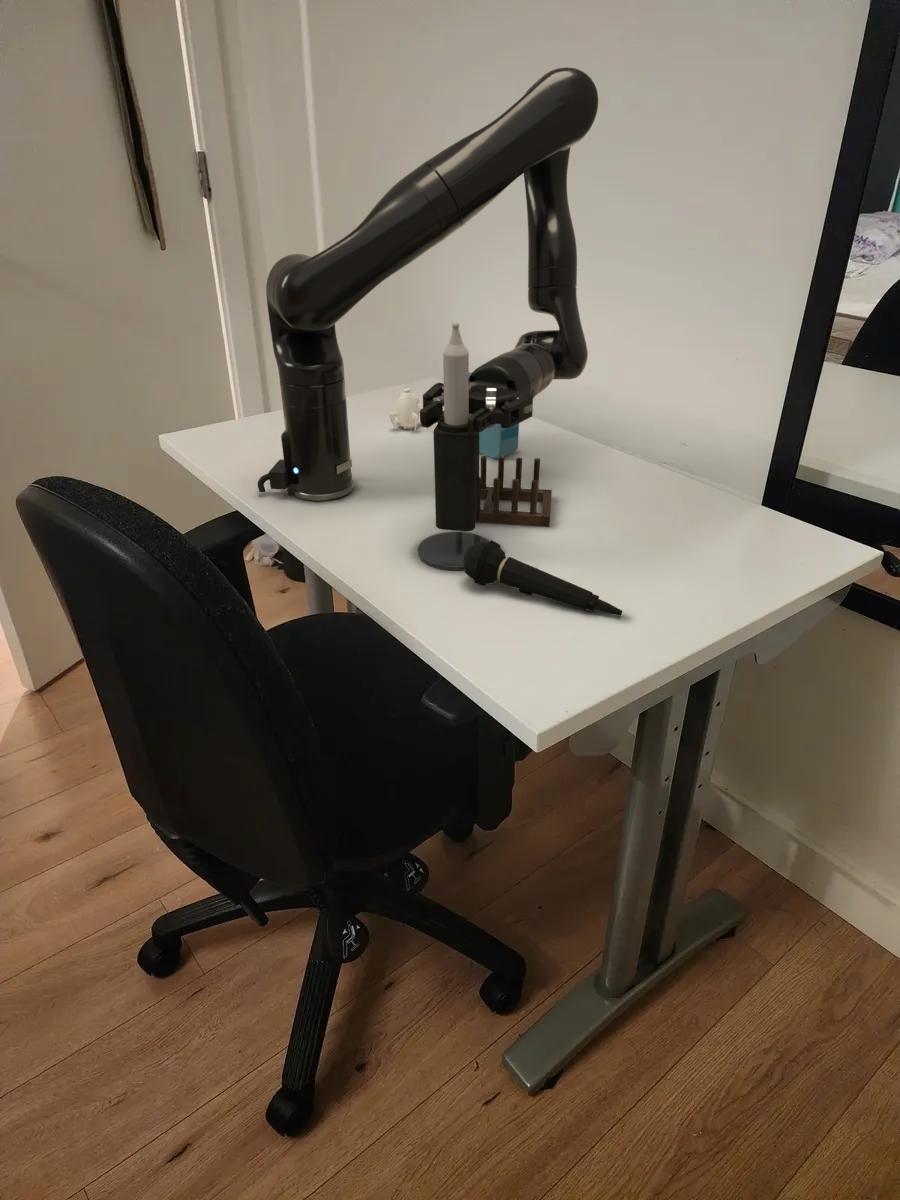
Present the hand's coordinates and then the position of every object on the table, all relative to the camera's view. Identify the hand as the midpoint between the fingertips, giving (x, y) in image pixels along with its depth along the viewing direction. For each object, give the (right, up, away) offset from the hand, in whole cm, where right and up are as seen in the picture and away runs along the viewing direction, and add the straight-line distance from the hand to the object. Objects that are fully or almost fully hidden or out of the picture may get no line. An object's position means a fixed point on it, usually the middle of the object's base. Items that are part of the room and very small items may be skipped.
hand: (447, 423), depth 94 cm
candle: (+1, -11, +9) cm, 14 cm away
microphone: (+10, -21, +1) cm, 23 cm away
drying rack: (+8, -8, +23) cm, 25 cm away
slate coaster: (+1, -15, +11) cm, 18 cm away
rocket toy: (-7, +11, +54) cm, 55 cm away
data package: (+6, +5, +44) cm, 45 cm away
